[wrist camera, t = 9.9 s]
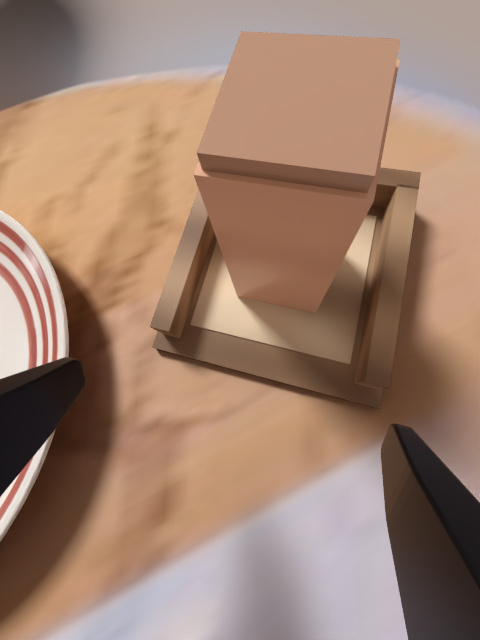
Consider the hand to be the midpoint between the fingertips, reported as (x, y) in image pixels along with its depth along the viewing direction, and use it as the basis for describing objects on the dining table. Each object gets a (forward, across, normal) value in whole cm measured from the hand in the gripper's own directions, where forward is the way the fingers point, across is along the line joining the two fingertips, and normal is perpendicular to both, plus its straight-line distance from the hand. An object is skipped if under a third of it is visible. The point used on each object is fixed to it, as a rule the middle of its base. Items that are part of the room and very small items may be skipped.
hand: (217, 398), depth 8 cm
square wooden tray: (+13, 0, 0) cm, 13 cm away
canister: (+12, 0, 0) cm, 12 cm away
